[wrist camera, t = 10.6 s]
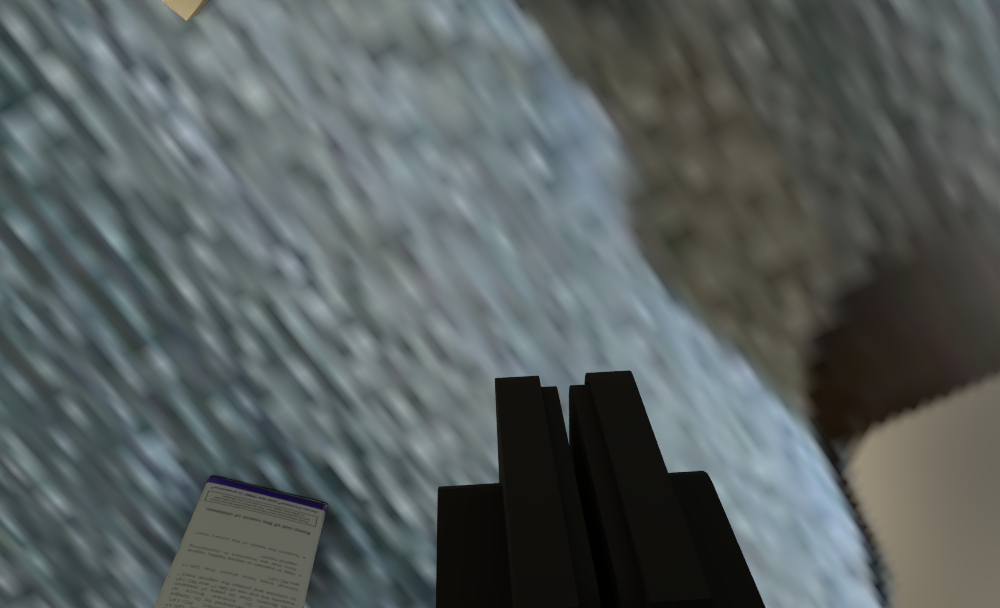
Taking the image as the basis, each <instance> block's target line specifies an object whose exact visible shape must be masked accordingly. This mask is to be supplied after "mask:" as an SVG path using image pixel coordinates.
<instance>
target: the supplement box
mask: <svg viewBox="0 0 1000 608" xmlns="http://www.w3.org/2000/svg"><path fill="white" fill-rule="evenodd" d="M327 507H328V506H327V504H326V503H321V502H319V501H315V500H311V499H307V498H302V497H298V496H293V495H290V494H286V493H281V492H277V491H272V490H269V489H265V488H260V487H256V486H253V485H249V484H245V483H241V482H236V481H233V480H228V479H224V478H220V477H215V476H214V477H210V478H209V479H208V481H207V483H206V485H205V488H204V490H203V492H202V494H201V497H200V499H199V502H198V504H197V506H196V508H195V511H194V513H193V516H192V518H191V520H190V523H189V525H188V528H187V530H186V532H185V535H184V537H183V540H182V542H181V544H180V547H179V549H178V552H177V554H176V556H175V559H174V561H173V563H172V566H171V568H170V570H169V572H168V575H167V577H166V580H165V583H164V585H163V587H162V590H161V592H160V595H159V597H158V600H157V602H156V604H155V607H154V608H304V604H305V599H306V595H307V590H308V586H309V581H310V577H311V573H312V568H313V564H314V559H315V555H316V551H317V547H318V542H319V538H320V534H321V530H322V526H323V522H324V518H325V514H326V510H327Z"/></svg>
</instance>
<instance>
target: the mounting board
mask: <svg viewBox="0 0 1000 608" xmlns="http://www.w3.org/2000/svg"><path fill="white" fill-rule="evenodd" d="M162 1H163V2H164V3H166V4H167V5H168V6H169V7H170V8H172V9H173V10H174V11H175V12H176V13H178V14H179V15H180V16H181V17H182V18H184V19H185V20H186V21H188V20H189V19H191V18H193V17H194V16H196V15H197V14H198V13H199V11H200V10H201V9H202V8H203V6H204V5H205V4H206V2H207V1H208V0H162Z"/></svg>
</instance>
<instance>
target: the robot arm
mask: <svg viewBox="0 0 1000 608" xmlns="http://www.w3.org/2000/svg"><path fill="white" fill-rule="evenodd" d="M495 395H496V417H497V439H498V461H499V483H493V484H477V485H460V486H443V487H439V488H438V515H437V578H436V608H765V606H764V603H763V601H762V598H761V596H760V594H759V591H758V589H757V587H756V584H755V582H754V580H753V577H752V575H751V573H750V570H749V568H748V565H747V563H746V561H745V558H744V556H743V554H742V551H741V549H740V547H739V544H738V542H737V540H736V537H735V535H734V532H733V530H732V528H731V525H730V523H729V521H728V518H727V516H726V514H725V511H724V509H723V507H722V504H721V502H720V499H719V497H718V495H717V492H716V490H715V488H714V485H713V483H712V481H711V479H710V477H709V475H708V474H707V473H706V472H704V471H693V472H676V473H668V472H667V469H666V466H665V463H664V460H663V458H662V455H661V452H660V449H659V446H658V444H657V441H656V438H655V435H654V433H653V430H652V427H651V424H650V421H649V419H648V416H647V413H646V410H645V407H644V405H643V402H642V399H641V396H640V394H639V391H638V388H637V385H636V382H635V380H634V377H633V374H632V372H631V371H613V372H595V373H586V375H585V385H570V388H569V443H568V438H567V433H566V428H565V423H564V418H563V414H562V409H561V404H560V399H559V394H558V389H557V387H556V386H553V387H541V385H540V379H539V376H525V377H508V378H495Z"/></svg>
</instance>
